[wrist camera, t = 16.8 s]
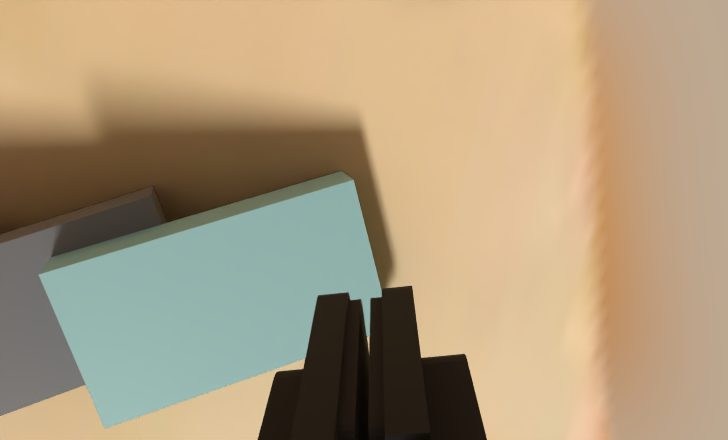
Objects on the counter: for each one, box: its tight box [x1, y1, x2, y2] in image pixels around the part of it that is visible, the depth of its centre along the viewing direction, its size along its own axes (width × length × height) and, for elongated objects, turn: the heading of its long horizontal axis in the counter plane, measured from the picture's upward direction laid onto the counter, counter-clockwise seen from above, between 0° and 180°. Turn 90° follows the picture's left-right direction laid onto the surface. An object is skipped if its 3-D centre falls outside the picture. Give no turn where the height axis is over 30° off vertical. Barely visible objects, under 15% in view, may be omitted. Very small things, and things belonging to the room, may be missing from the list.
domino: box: [0, 186, 167, 416], centre depth 20 cm, size 5×2×9 cm
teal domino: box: [39, 171, 382, 428], centre depth 19 cm, size 5×2×9 cm
